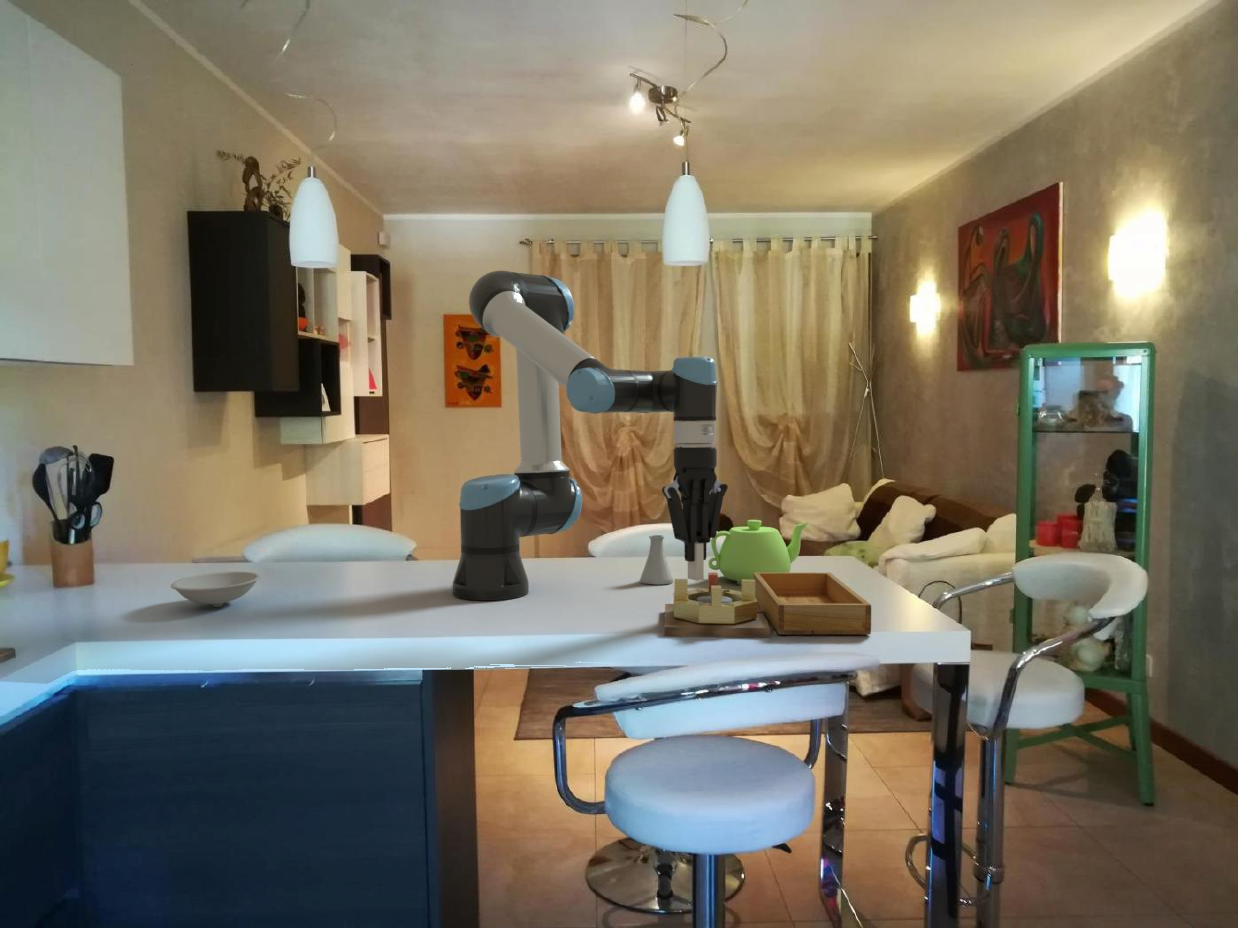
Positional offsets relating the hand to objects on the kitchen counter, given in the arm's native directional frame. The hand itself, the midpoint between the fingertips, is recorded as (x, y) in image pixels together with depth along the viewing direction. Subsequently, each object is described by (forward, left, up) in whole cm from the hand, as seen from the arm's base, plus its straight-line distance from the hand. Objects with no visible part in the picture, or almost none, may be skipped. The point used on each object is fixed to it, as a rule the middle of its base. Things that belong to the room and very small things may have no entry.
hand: (695, 579), depth 157 cm
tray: (+20, +3, -8) cm, 22 cm away
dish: (-89, +4, -7) cm, 90 cm away
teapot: (+15, +34, -7) cm, 38 cm away
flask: (-7, +31, -7) cm, 33 cm away
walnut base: (+3, -5, -7) cm, 9 cm away
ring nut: (+3, -5, -5) cm, 7 cm away
